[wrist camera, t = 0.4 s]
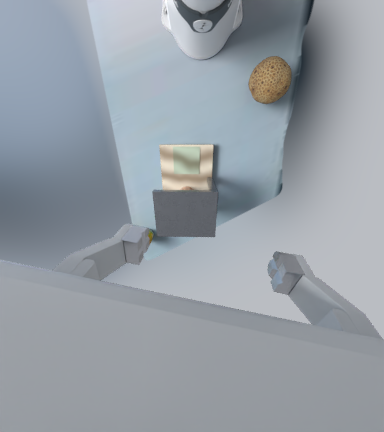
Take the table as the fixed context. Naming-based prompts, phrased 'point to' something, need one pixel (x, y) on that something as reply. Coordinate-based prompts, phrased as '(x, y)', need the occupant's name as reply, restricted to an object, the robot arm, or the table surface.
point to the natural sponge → (270, 80)
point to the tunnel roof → (186, 212)
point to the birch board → (186, 166)
